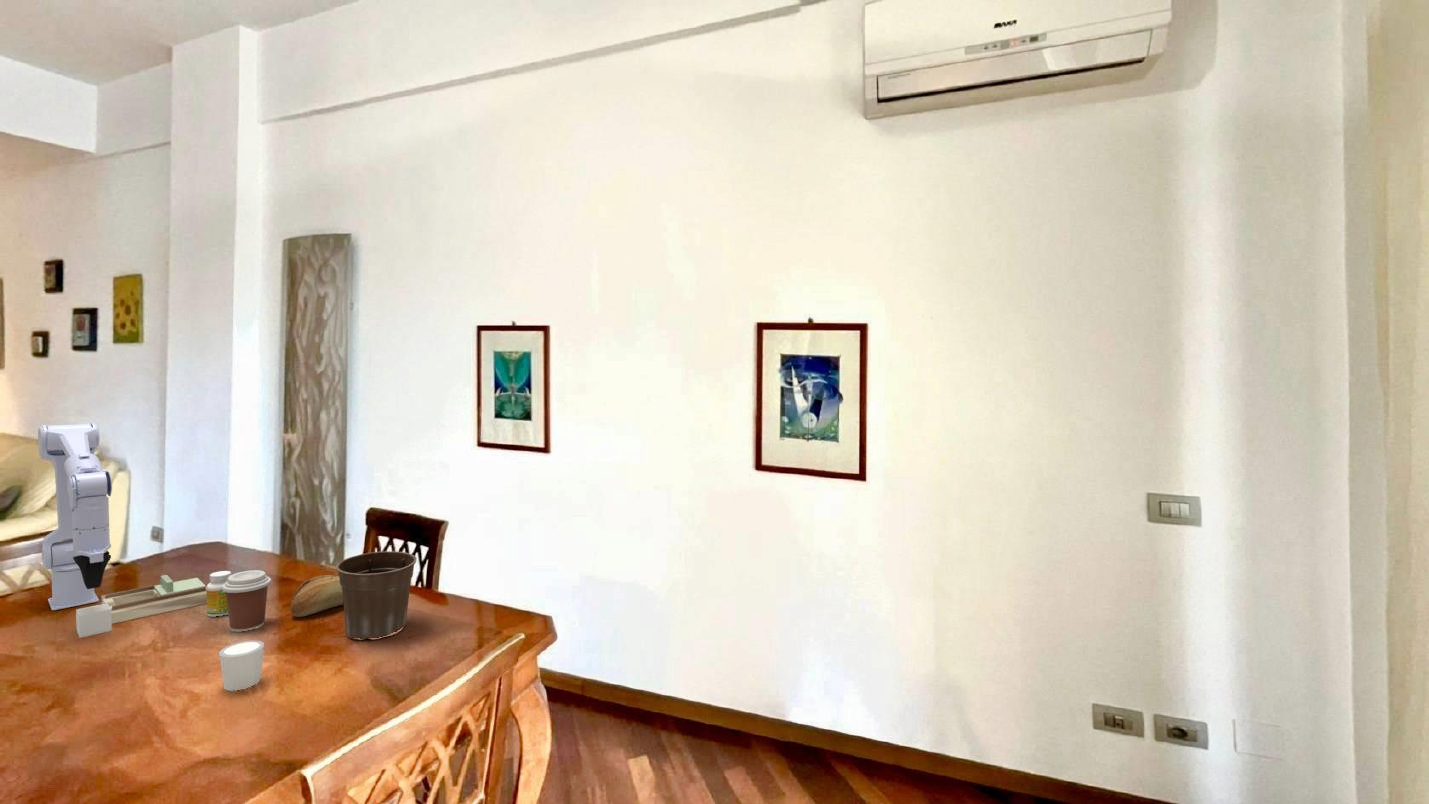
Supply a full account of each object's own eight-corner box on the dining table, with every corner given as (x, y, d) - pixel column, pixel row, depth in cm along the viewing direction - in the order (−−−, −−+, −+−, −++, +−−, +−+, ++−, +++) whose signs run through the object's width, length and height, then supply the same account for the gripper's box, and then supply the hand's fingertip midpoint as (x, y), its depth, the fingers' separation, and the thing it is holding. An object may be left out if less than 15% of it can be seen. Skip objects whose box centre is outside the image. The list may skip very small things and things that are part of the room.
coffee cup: (232, 638, 137) (231, 585, 136) (215, 627, 142) (214, 576, 141) (279, 624, 145) (278, 573, 144) (261, 614, 150) (260, 565, 149)
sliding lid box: (101, 606, 151) (100, 592, 151) (195, 587, 165) (195, 574, 165) (111, 624, 142) (111, 609, 142) (210, 602, 156) (210, 589, 156)
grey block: (76, 631, 138) (75, 609, 138) (107, 624, 142) (107, 603, 142) (79, 638, 135) (79, 615, 135) (111, 631, 139) (111, 609, 138)
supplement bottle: (219, 618, 147) (218, 578, 146) (200, 616, 148) (200, 576, 147) (240, 609, 152) (240, 570, 151) (222, 607, 153) (222, 568, 152)
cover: (154, 589, 156) (153, 576, 156) (197, 580, 163) (197, 568, 163) (161, 598, 151) (161, 584, 151) (205, 589, 158) (205, 576, 157)
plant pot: (431, 624, 147) (432, 557, 146) (368, 652, 133) (368, 578, 132) (385, 611, 154) (385, 547, 153) (320, 636, 140) (319, 565, 139)
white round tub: (235, 674, 122) (235, 639, 122) (272, 674, 123) (272, 639, 122) (210, 693, 115) (209, 656, 115) (249, 692, 116) (249, 656, 115)
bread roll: (278, 616, 149) (278, 584, 149) (337, 596, 163) (337, 566, 162) (305, 624, 145) (305, 591, 145) (363, 602, 159) (363, 571, 159)
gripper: (61, 523, 138) (63, 583, 139) (69, 536, 129) (71, 600, 130) (105, 518, 144) (106, 575, 145) (115, 530, 135) (117, 591, 136)
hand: (92, 587), depth 138 cm, fingers closed
